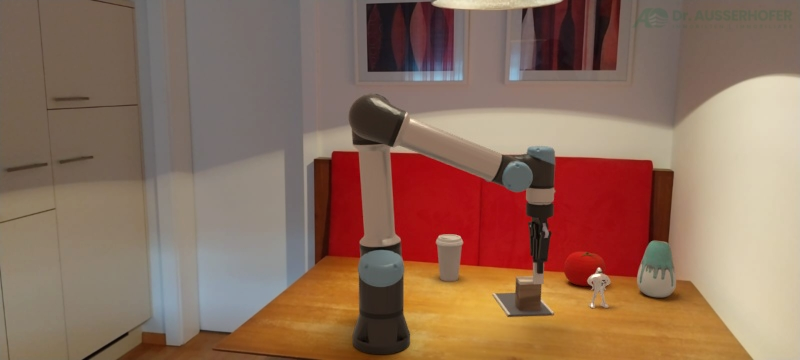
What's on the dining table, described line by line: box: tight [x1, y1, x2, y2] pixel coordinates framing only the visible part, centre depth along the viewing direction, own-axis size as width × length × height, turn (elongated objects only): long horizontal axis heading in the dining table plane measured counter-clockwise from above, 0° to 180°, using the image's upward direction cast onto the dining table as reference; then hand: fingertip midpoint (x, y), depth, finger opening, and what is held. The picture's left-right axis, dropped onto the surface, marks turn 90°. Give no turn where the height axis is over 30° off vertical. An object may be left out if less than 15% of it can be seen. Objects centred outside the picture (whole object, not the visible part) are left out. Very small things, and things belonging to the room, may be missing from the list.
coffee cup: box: [435, 233, 464, 282], centre depth 206 cm, size 10×10×15 cm
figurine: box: [587, 268, 611, 309], centre depth 180 cm, size 7×4×12 cm, turn 94°
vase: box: [636, 240, 677, 299], centre depth 190 cm, size 12×12×18 cm
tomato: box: [563, 251, 606, 287], centre depth 200 cm, size 12×14×11 cm
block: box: [514, 275, 542, 311], centre depth 177 cm, size 5×7×9 cm
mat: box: [492, 292, 555, 318], centre depth 182 cm, size 18×14×1 cm
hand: (538, 283), depth 168 cm, fingers closed
